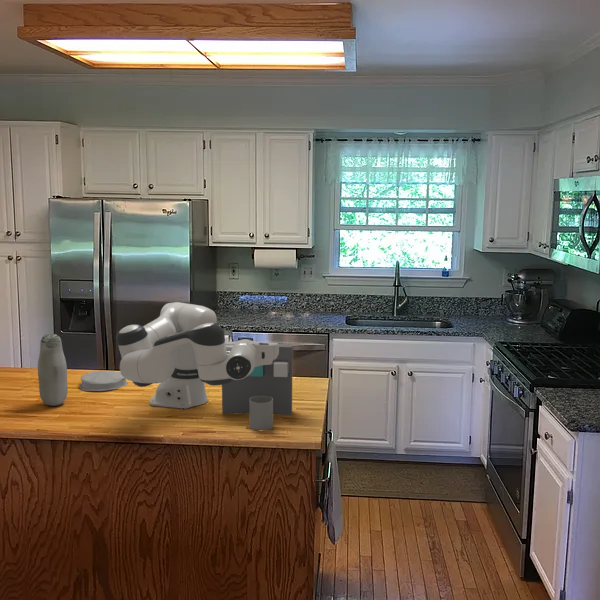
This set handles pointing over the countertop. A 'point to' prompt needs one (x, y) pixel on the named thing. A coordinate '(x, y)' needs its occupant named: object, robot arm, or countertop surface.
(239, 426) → the countertop surface
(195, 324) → the robot arm
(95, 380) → the food container
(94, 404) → the countertop surface
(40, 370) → the grey bottle
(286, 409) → the button panel
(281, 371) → the light grey push-block
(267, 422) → the cup
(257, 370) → the teal push-block
